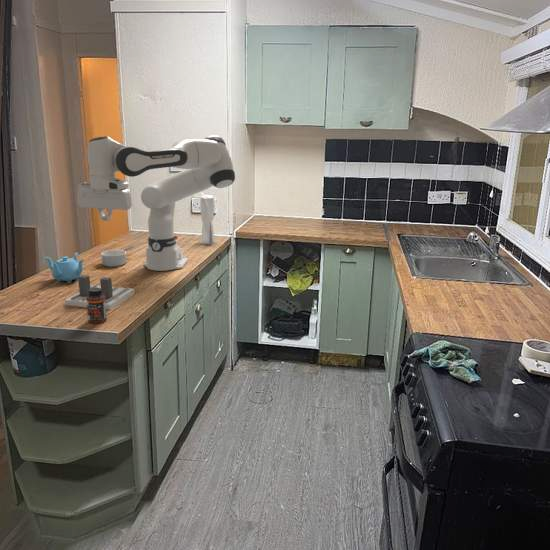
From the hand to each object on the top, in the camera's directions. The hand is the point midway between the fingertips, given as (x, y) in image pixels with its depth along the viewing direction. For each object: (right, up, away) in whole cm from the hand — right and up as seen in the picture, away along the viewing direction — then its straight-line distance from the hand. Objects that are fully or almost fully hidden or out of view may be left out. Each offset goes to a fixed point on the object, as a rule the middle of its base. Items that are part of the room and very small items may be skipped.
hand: (105, 220), depth 186 cm
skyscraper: (+26, -3, +91) cm, 95 cm away
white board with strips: (-3, -29, +3) cm, 30 cm away
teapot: (-24, -23, +25) cm, 41 cm away
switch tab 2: (+1, -29, -1) cm, 29 cm away
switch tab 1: (-8, -28, +1) cm, 29 cm away
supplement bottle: (+3, -36, -16) cm, 40 cm away
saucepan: (-11, -14, +52) cm, 55 cm away
